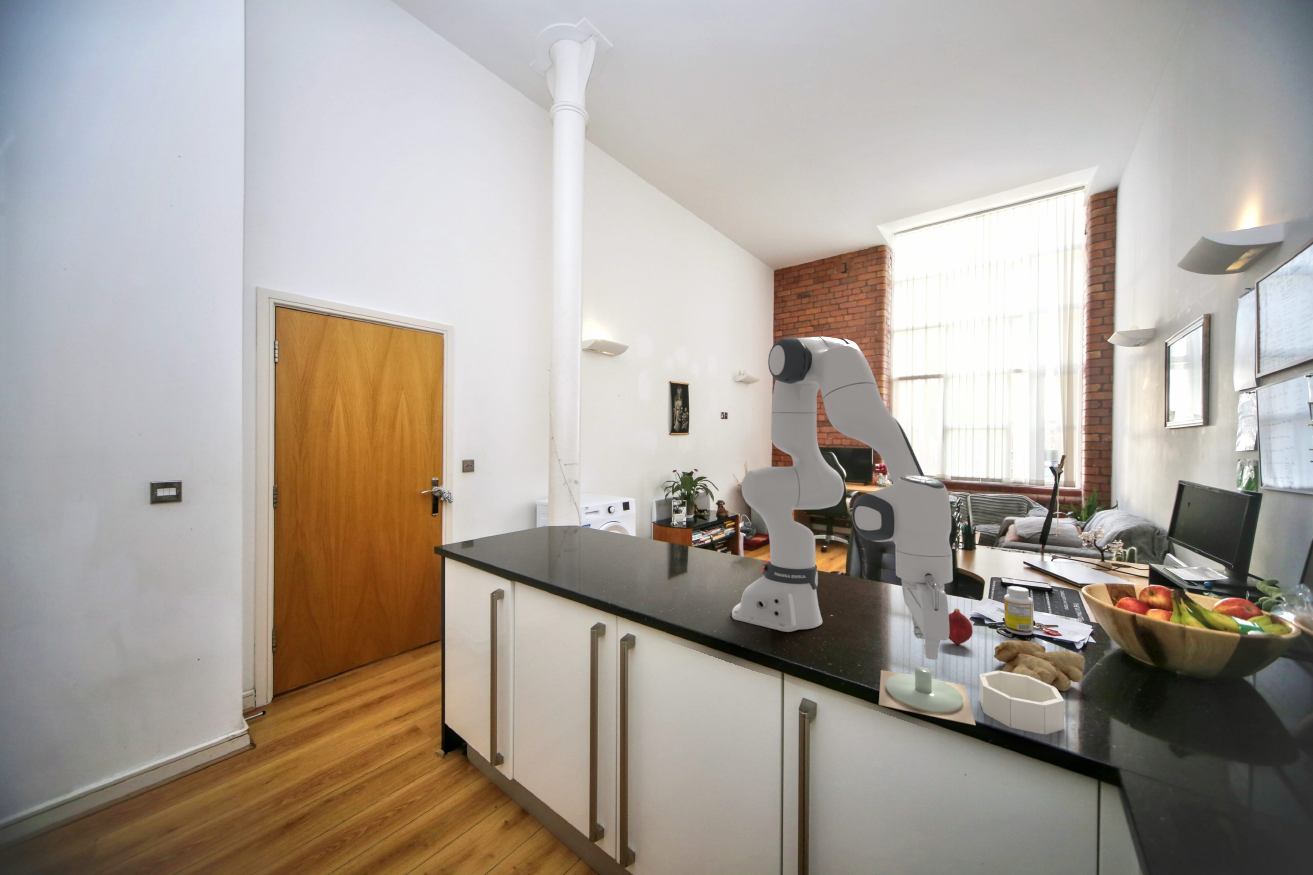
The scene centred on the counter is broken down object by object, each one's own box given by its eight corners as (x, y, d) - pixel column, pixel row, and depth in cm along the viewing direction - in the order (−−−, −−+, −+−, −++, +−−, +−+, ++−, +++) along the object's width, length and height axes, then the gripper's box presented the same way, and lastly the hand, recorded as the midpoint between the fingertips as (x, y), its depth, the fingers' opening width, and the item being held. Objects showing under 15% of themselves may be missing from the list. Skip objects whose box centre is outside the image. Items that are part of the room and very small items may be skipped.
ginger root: (1040, 652, 103) (1045, 618, 101) (1106, 711, 87) (1114, 673, 85) (964, 654, 103) (968, 620, 101) (1016, 713, 88) (1021, 675, 86)
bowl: (986, 725, 79) (986, 694, 79) (976, 694, 88) (976, 666, 88) (1070, 743, 74) (1070, 710, 74) (1050, 708, 84) (1050, 679, 84)
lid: (885, 703, 84) (885, 677, 84) (886, 673, 95) (886, 650, 95) (967, 720, 79) (967, 693, 79) (958, 686, 90) (958, 662, 90)
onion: (977, 650, 106) (977, 614, 106) (948, 648, 108) (947, 612, 108) (966, 640, 112) (965, 605, 112) (938, 638, 113) (938, 603, 113)
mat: (878, 707, 84) (878, 704, 84) (881, 672, 97) (881, 669, 97) (975, 728, 78) (975, 724, 78) (964, 688, 90) (964, 685, 90)
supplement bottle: (1012, 625, 121) (1012, 583, 121) (1038, 633, 116) (1038, 589, 116) (999, 629, 119) (999, 586, 119) (1024, 637, 114) (1024, 593, 114)
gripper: (959, 584, 76) (961, 674, 76) (931, 557, 96) (932, 629, 95) (914, 581, 78) (916, 669, 78) (895, 555, 98) (896, 625, 97)
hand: (925, 646), depth 87 cm, fingers open, 8 cm apart
